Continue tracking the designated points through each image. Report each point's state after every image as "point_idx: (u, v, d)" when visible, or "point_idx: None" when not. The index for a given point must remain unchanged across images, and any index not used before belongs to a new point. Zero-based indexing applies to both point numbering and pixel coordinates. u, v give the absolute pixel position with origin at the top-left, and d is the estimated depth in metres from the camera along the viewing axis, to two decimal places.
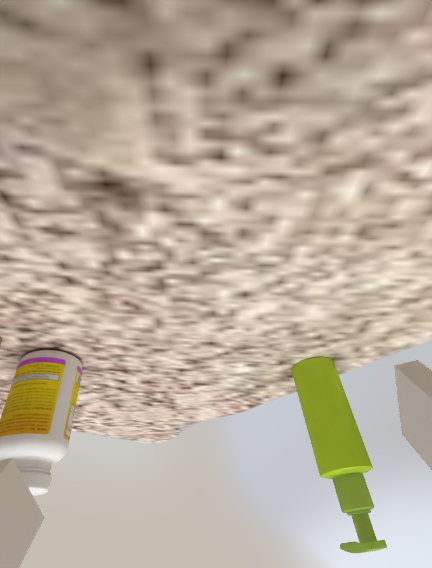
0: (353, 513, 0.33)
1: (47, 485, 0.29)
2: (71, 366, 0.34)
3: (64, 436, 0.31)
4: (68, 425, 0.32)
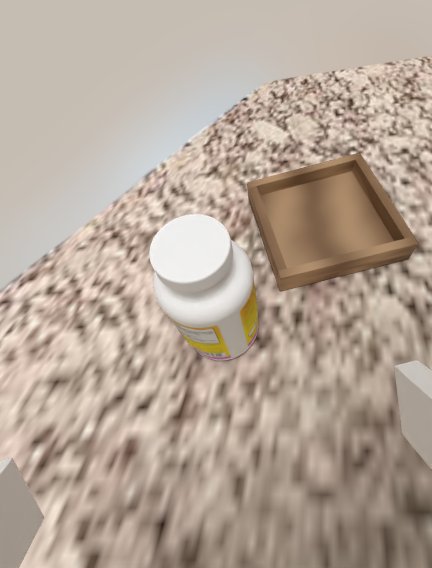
0: None
1: (190, 285, 0.17)
2: (240, 351, 0.26)
3: (214, 326, 0.19)
4: (210, 334, 0.21)
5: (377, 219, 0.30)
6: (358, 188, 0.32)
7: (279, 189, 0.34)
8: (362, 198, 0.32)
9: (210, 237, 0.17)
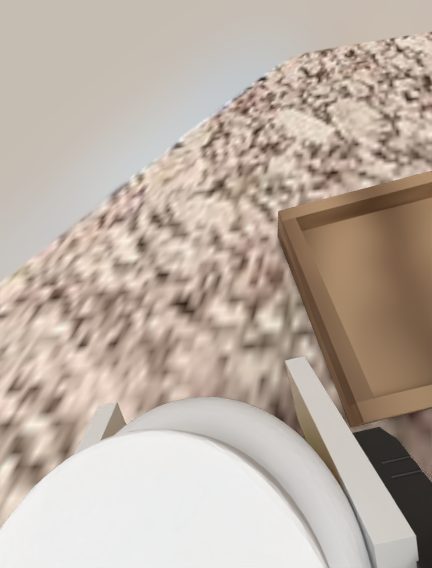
0: None
1: None
2: None
3: None
4: None
5: None
6: None
7: (332, 221, 0.20)
8: None
9: None
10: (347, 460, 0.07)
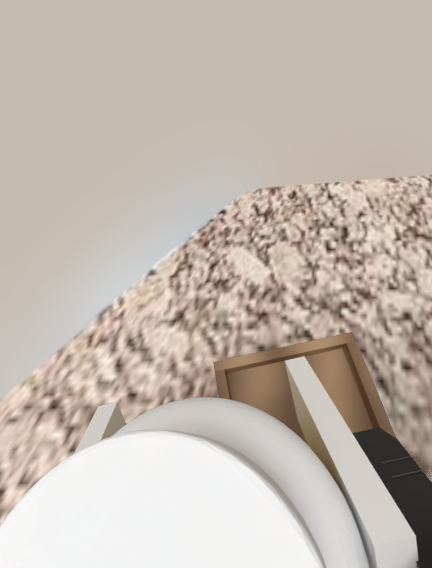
0: None
1: None
2: None
3: None
4: None
5: None
6: (349, 378, 0.26)
7: (253, 367, 0.27)
8: (353, 395, 0.25)
9: None
10: (347, 460, 0.07)
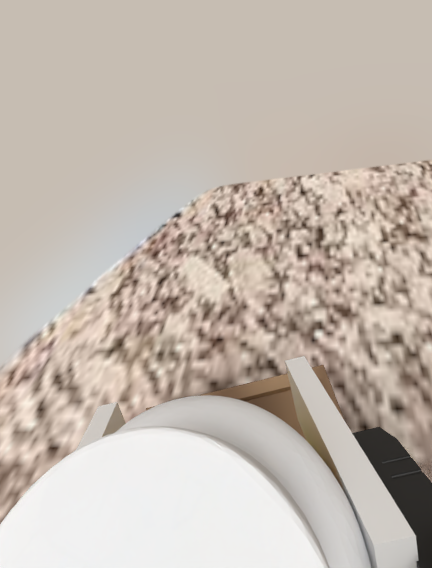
0: None
1: None
2: None
3: None
4: None
5: None
6: None
7: None
8: None
9: None
10: (347, 460, 0.07)
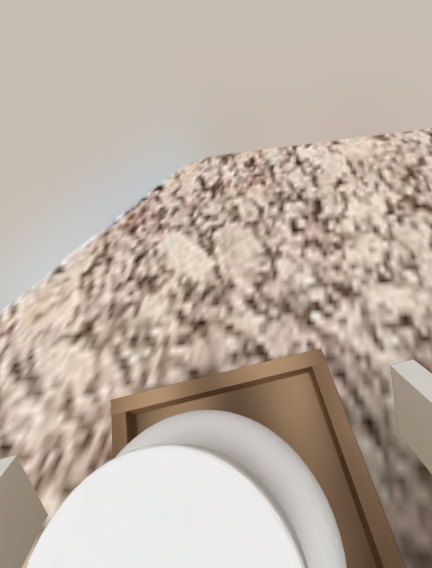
0: None
1: None
2: None
3: None
4: None
5: (352, 516, 0.15)
6: (318, 420, 0.17)
7: (175, 404, 0.18)
8: (324, 449, 0.16)
9: None
10: None
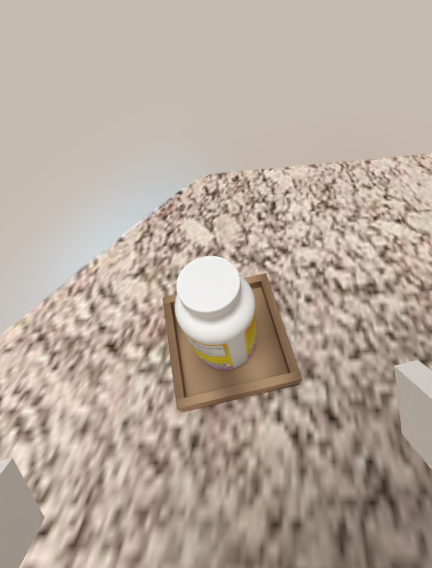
0: None
1: (209, 313, 0.22)
2: (241, 362, 0.31)
3: (224, 343, 0.25)
4: (220, 349, 0.26)
5: (275, 342, 0.33)
6: (263, 306, 0.35)
7: None
8: (265, 318, 0.34)
9: (224, 276, 0.23)
10: None
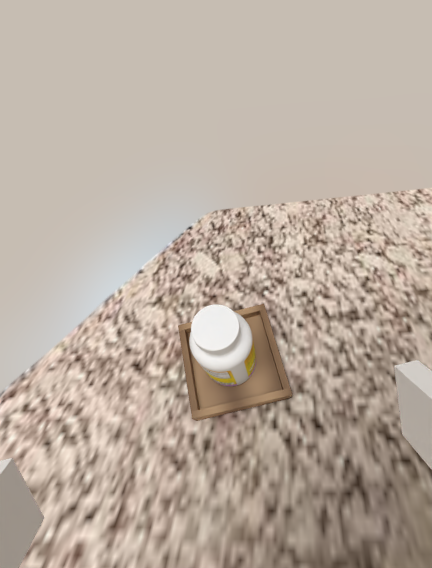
0: None
1: (216, 351, 0.29)
2: (243, 380, 0.38)
3: (228, 370, 0.32)
4: (225, 374, 0.33)
5: (271, 363, 0.40)
6: (262, 332, 0.42)
7: None
8: (264, 342, 0.41)
9: (227, 321, 0.30)
10: None
